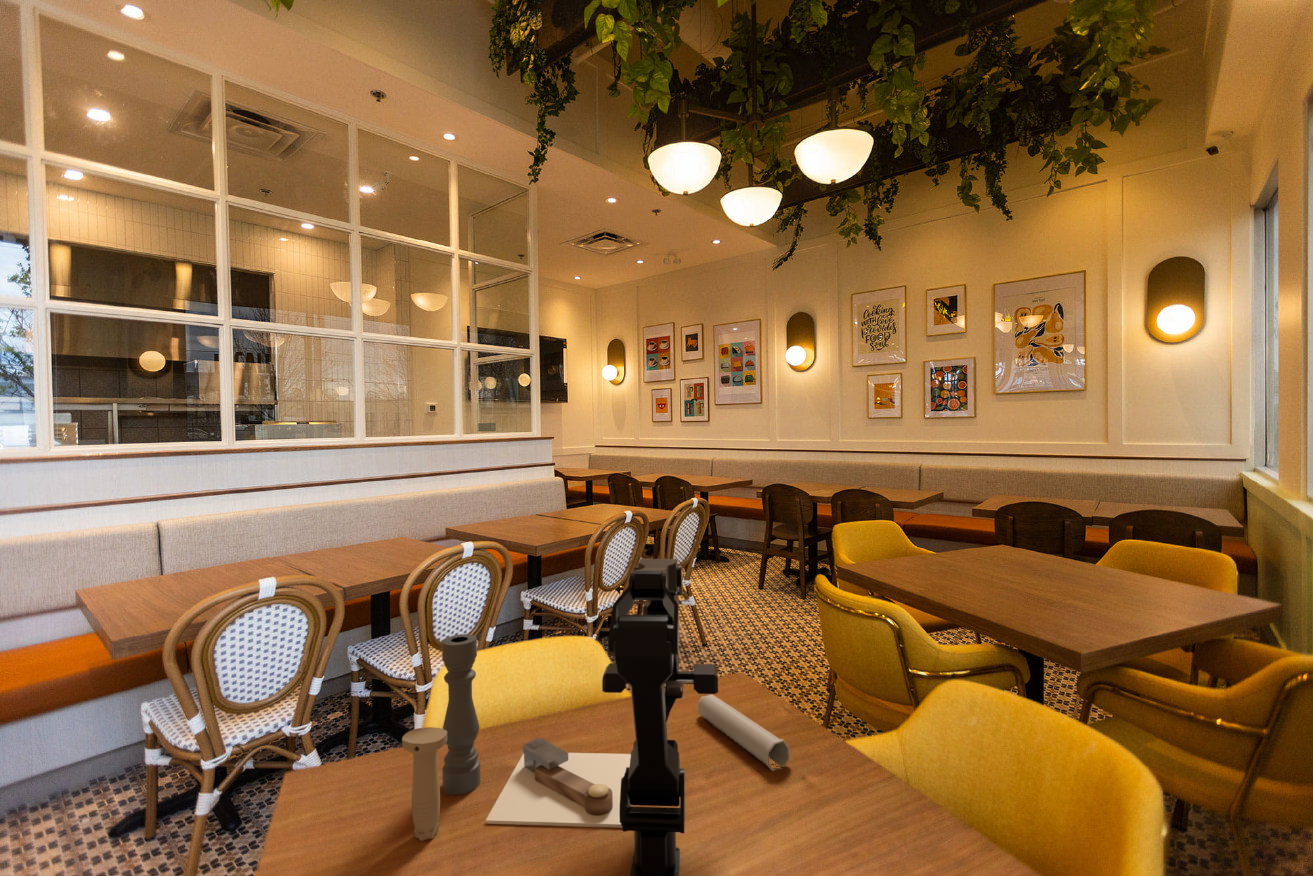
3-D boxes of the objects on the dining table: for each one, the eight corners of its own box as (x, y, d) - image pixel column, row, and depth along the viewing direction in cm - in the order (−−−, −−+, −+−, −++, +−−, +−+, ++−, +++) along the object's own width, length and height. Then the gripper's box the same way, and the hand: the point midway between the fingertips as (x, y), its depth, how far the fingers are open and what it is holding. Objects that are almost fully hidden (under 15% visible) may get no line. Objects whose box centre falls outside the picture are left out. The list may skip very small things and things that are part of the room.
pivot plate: (626, 827, 89) (626, 806, 89) (485, 823, 91) (485, 802, 91) (640, 756, 109) (640, 739, 109) (524, 754, 111) (524, 736, 111)
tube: (689, 698, 125) (763, 751, 103) (709, 685, 127) (785, 734, 105) (697, 720, 126) (771, 778, 103) (716, 707, 128) (793, 760, 106)
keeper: (568, 776, 102) (568, 753, 102) (549, 786, 99) (549, 762, 99) (540, 758, 108) (540, 736, 108) (521, 767, 105) (521, 745, 105)
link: (618, 805, 94) (618, 792, 94) (598, 819, 90) (598, 806, 90) (551, 770, 104) (551, 759, 104) (531, 781, 101) (531, 770, 101)
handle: (439, 847, 86) (437, 744, 86) (397, 844, 86) (395, 742, 87) (454, 825, 90) (452, 728, 91) (415, 823, 91) (413, 726, 91)
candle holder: (434, 789, 100) (432, 642, 100) (462, 770, 106) (460, 631, 106) (461, 799, 97) (458, 648, 97) (488, 779, 103) (485, 636, 103)
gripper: (715, 620, 104) (717, 708, 104) (611, 620, 106) (612, 706, 106) (717, 642, 93) (719, 740, 93) (600, 641, 95) (602, 738, 94)
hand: (661, 729), depth 97 cm, fingers closed
